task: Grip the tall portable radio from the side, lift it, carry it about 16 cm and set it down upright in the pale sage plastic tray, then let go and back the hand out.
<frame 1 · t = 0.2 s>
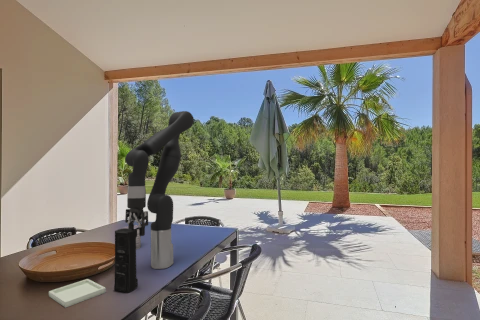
hand: (136, 234, 128), 17 cm above the table, tool pointing down, fingers open, 8 cm apart
portable radio: (124, 289, 114), on the table
can: (130, 248, 167), on the table
sage tray: (77, 294, 110), on the table
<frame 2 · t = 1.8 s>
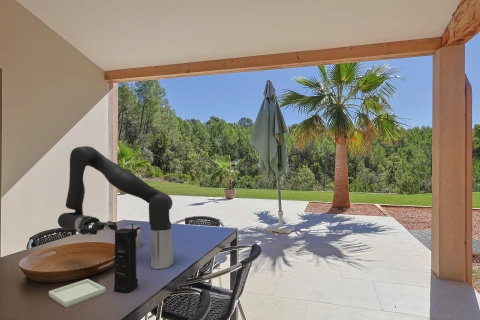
hand: (106, 229, 122), 21 cm above the table, tool horizontal, fingers open, 8 cm apart
nothing on the table moved.
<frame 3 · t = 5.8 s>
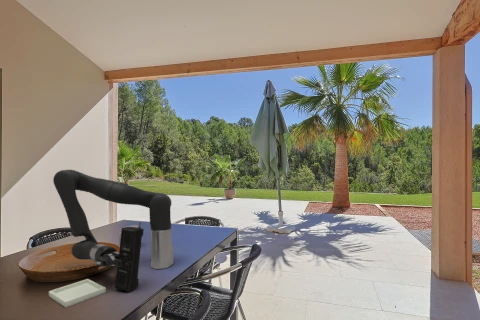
hand: (125, 262, 112), 11 cm above the table, tool horizontal, fingers open, 3 cm apart
portable radio: (124, 288, 114), on the table, touching gripper
everything else where it was.
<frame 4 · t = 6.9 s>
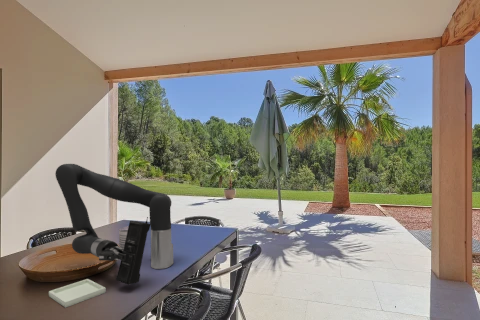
hand: (127, 257, 113), 13 cm above the table, tool horizontal, fingers closed on portable radio
portable radio: (125, 282, 114), point 3 cm above the table, touching gripper
everything else where it was.
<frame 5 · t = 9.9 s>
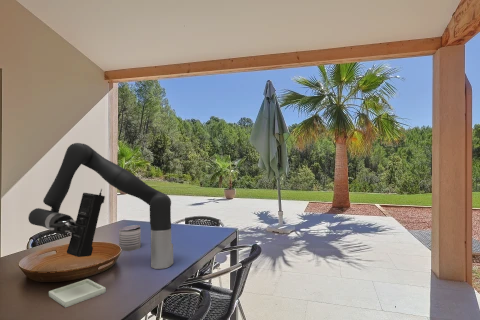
hand: (78, 229, 108), 24 cm above the table, tool horizontal, fingers closed on portable radio
portable radio: (77, 255, 110), point 14 cm above the table, touching gripper
everything else where it was.
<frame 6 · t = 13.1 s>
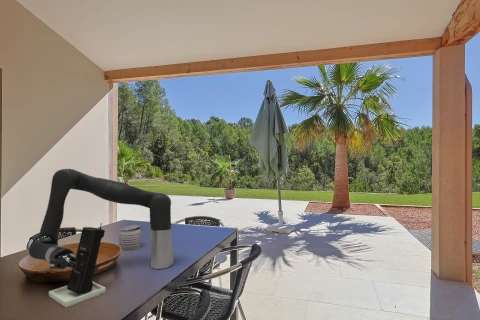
hand: (79, 265, 108), 11 cm above the table, tool horizontal, fingers closed on portable radio
portable radio: (77, 290, 110), point 1 cm above the table, touching gripper, sage tray
everything else where it was.
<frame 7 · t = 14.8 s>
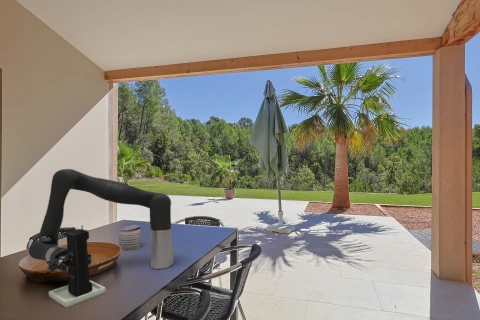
hand: (78, 265, 109), 11 cm above the table, tool horizontal, fingers open, 8 cm apart
portable radio: (79, 292, 110), point 1 cm above the table, touching sage tray
everything else where it was.
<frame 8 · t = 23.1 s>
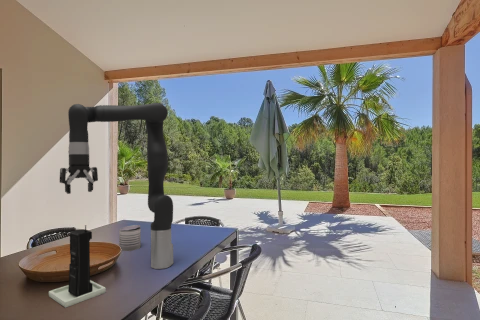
hand: (79, 192, 123), 36 cm above the table, tool pointing down, fingers open, 8 cm apart
at the end: portable radio inside the target area on the sage tray (0.7 cm from its centre), point 0.4 cm above the sage tray's base; portable radio tilted 0°; the gripper is holding nothing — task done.
